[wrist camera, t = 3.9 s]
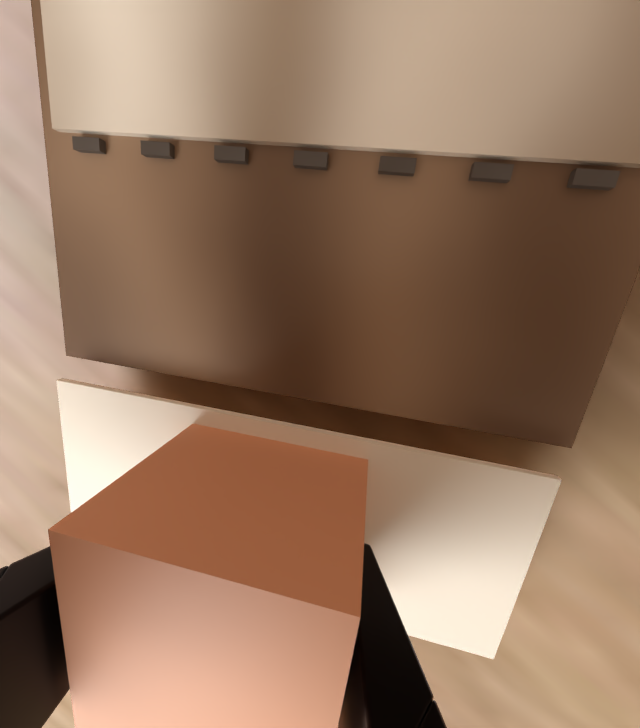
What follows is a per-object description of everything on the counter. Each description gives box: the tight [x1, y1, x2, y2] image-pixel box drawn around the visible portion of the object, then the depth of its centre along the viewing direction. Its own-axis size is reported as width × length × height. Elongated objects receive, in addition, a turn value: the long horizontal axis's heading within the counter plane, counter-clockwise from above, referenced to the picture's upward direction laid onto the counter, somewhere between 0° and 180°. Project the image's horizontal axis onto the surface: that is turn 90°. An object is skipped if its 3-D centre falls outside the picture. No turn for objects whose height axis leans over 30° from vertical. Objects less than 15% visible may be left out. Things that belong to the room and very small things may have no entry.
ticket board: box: [31, 0, 640, 448], centre depth 7 cm, size 15×18×2 cm
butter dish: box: [48, 378, 562, 728], centre depth 7 cm, size 14×6×4 cm, turn 83°
